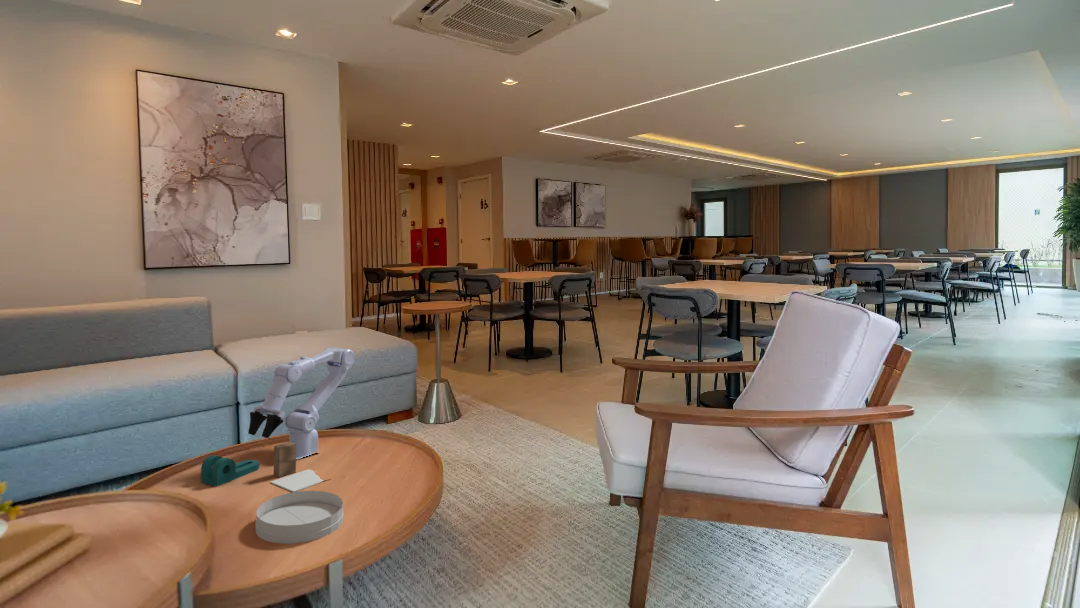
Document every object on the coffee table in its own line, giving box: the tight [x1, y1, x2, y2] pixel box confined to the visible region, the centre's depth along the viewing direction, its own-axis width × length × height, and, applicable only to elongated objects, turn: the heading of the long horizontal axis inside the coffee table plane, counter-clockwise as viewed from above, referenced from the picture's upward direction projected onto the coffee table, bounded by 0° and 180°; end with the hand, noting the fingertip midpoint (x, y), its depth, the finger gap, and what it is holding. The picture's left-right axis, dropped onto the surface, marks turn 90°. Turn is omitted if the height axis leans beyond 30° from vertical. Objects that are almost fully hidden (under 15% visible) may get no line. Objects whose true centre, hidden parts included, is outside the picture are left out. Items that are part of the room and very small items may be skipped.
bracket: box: [200, 454, 260, 487], centre depth 183 cm, size 18×7×8 cm, turn 160°
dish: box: [255, 490, 345, 545], centre depth 153 cm, size 22×22×5 cm
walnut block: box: [273, 441, 297, 479], centre depth 186 cm, size 6×3×10 cm, turn 148°
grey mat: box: [270, 468, 324, 493], centre depth 181 cm, size 14×12×1 cm
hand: (257, 435), depth 187 cm, fingers open, 7 cm apart
